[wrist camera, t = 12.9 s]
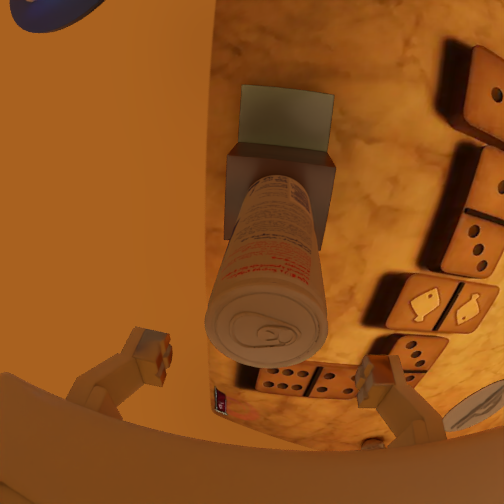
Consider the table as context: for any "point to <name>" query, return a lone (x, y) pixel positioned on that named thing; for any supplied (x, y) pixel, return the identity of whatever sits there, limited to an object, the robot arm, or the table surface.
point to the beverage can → (270, 281)
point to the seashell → (373, 444)
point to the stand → (282, 148)
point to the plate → (475, 407)
